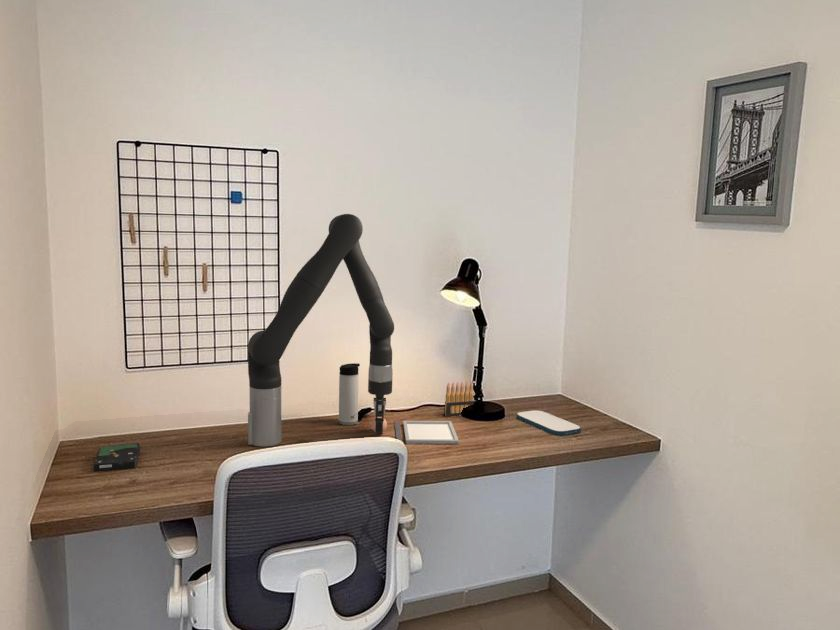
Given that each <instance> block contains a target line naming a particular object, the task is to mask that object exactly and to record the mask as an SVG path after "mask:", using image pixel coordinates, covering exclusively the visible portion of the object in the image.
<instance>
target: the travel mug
mask: <svg viewBox="0 0 840 630" xmlns="http://www.w3.org/2000/svg"><path fill="white" fill-rule="evenodd" d="M360 366H361V364H360V363H355V362H354V363H345V364H341V365H340V367H339V374H338V375H339V379H338V381H339V382H338V424H340V425H341V424H342V425H343V426H355V425H357V424H358V422H359V419H358V417H359V414H358V413H359V367H360ZM354 424H355V425H354Z"/></svg>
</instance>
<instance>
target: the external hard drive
mask: <svg viewBox="0 0 840 630" xmlns="http://www.w3.org/2000/svg"><path fill="white" fill-rule="evenodd" d="M516 418H518V419H519V421H520V420H521V421H520V422H523V421H524V422H523V423H525V422H526V423H525V424H527V423H528V424H527V425H529V424H530V426H532V425H533V426H532V427H534V426H535V427H534V428H536V427H537V428H536V429H538V428H539V430H541V429H542V431H543V430H544V431H543V432H545V431H546V433H548V434H550V433H551V435H553V434H554V435H553V436H557V435H560V436H559V437H564V435H566V436H570V434H572V435H576V433H578V434H580V433H581V430H582V428H581V426H580V425H578V424H576V423H573V422H571V421H568V420H566V419H563V418H561V417H558V416H556V415H553V414H551V413H549V412H546V411H543V410H534V409H533V410H527V411H519V412H517V413H516ZM518 419H517V420H518ZM579 432H580V433H579Z"/></svg>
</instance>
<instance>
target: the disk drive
mask: <svg viewBox="0 0 840 630" xmlns="http://www.w3.org/2000/svg"><path fill="white" fill-rule="evenodd" d="M97 451H98V452H97V454H96V457H95V459H94V461H93V472H94V473H97V472H110V471H120V470H121V471H123V470H130V469H131V470H132V469H135V470H137V467H138V460H139V456H140V455H139V454H140V451H141V449H140V443H139V442H137V443H136V442H135V443H125V444H123V443H122V444H120V443H119V444H116V445H101V446H100V448H98V450H97Z"/></svg>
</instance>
